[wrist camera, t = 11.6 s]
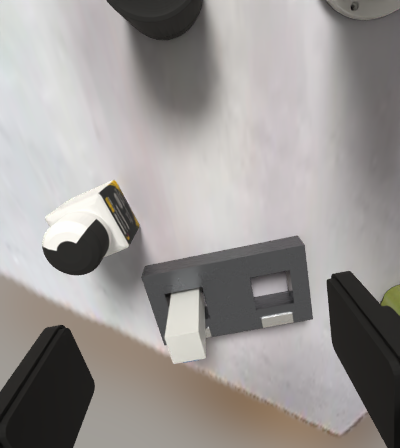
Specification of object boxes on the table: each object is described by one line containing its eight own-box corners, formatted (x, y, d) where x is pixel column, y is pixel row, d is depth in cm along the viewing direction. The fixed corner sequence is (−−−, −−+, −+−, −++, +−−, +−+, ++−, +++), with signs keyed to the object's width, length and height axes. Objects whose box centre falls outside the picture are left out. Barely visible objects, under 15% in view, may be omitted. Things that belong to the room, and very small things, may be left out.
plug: (198, 280, 45) (198, 331, 35) (205, 305, 47) (207, 361, 36) (172, 285, 45) (164, 337, 35) (180, 310, 47) (174, 367, 37)
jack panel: (297, 235, 42) (305, 245, 39) (306, 306, 47) (313, 320, 44) (145, 266, 44) (141, 277, 41) (166, 331, 48) (164, 346, 45)
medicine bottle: (140, 225, 42) (118, 269, 31) (95, 244, 43) (58, 293, 32) (115, 178, 40) (81, 207, 28) (68, 199, 41) (17, 235, 30)
